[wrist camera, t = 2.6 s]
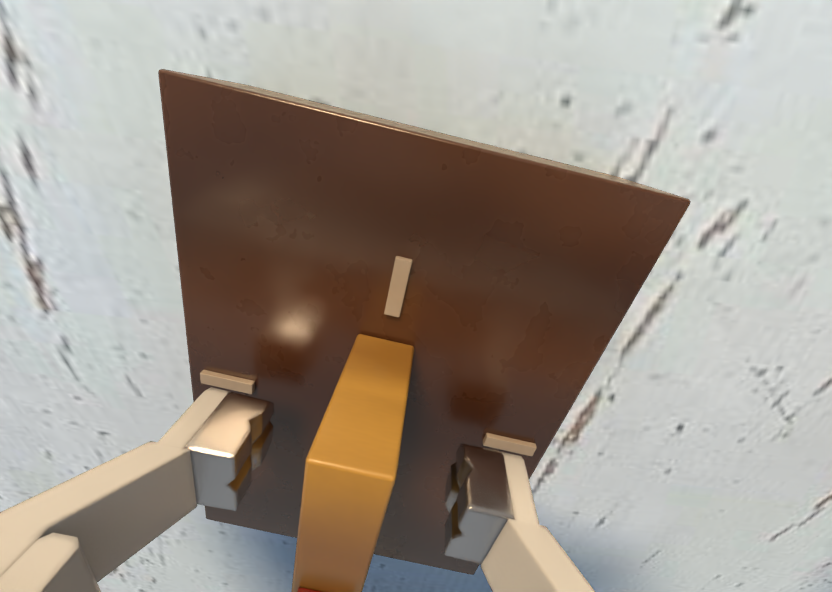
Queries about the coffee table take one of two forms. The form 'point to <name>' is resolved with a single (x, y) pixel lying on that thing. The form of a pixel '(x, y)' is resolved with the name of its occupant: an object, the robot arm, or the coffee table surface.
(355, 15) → the coffee table surface
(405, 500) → the plate
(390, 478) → the lock turn
